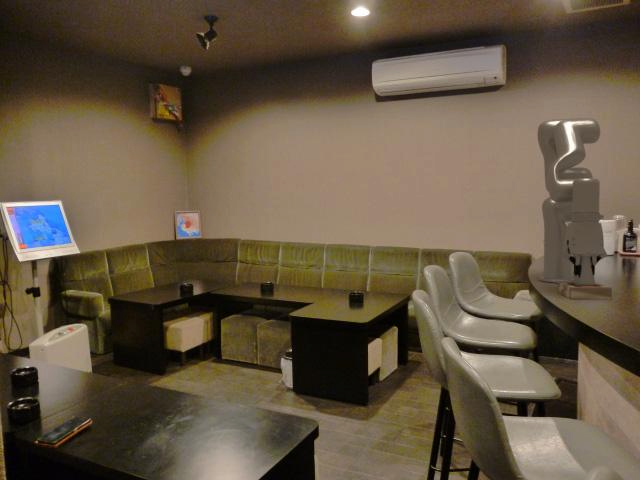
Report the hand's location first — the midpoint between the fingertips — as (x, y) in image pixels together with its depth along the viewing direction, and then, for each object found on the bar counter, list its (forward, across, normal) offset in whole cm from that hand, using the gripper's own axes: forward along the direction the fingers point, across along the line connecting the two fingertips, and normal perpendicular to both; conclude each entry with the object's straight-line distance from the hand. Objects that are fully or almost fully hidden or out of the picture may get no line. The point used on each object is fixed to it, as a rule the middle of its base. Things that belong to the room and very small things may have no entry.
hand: (584, 277), depth 158 cm
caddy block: (+6, 0, 0) cm, 6 cm away
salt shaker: (+4, 0, 0) cm, 4 cm away
